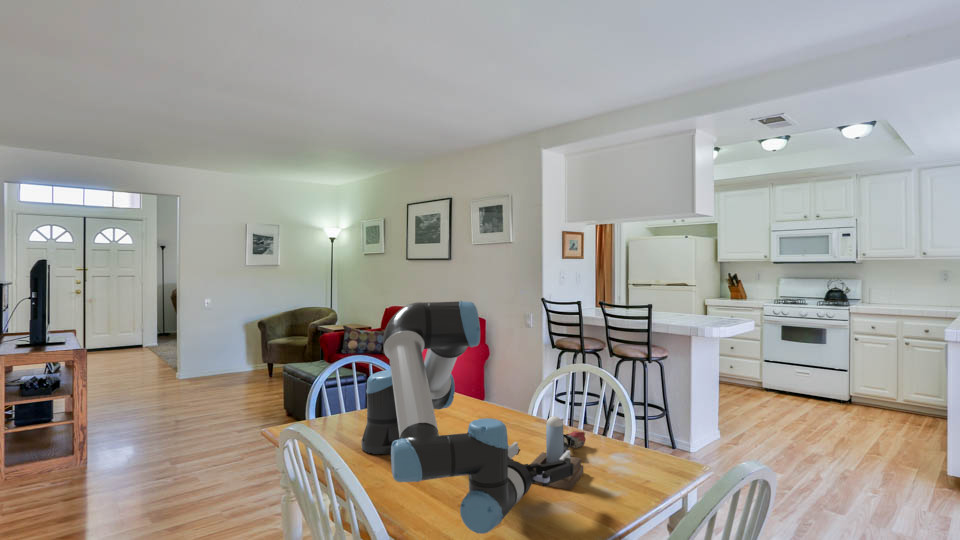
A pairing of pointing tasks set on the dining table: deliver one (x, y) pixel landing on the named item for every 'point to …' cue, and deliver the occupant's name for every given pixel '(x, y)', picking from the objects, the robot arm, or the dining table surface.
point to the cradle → (566, 482)
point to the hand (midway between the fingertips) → (541, 451)
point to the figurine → (573, 440)
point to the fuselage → (554, 439)
